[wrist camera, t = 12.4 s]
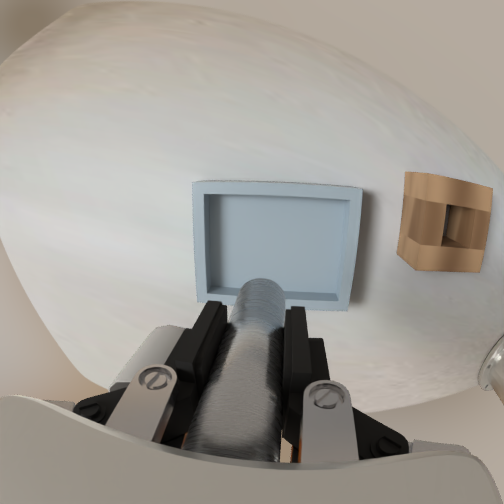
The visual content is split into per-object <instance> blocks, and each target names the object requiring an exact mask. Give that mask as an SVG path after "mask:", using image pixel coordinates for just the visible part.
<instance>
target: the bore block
mask: <svg viewBox="0 0 504 504" xmlns="http://www.w3.org/2000/svg"><path fill="white" fill-rule="evenodd" d="M492 194H493V188H490V187H486V186H482V185H479V184H475V183H471V182H466V181H462V180H458V179H453V178H449V177H444V176H439V175H434V174H429V173H418V172H405V185H404V198H403V209H402V218H401V227H400V234H399V242H398V248H397V255H399V256H400V257H401V258H402V259H403V260H404V261H405V262H407V263H408V264H409V265H410V266H411V267H412V268H413V269H415V270H419V271H447V272H479V273H480V269H481V265H482V260H483V255H484V251H485V246H486V240H487V234H488V228H489V221H490V213H491V205H492ZM447 204H450V208H449V217H448V224H447V231H446V236H443V229H444V222H445V214H446V205H447Z"/></svg>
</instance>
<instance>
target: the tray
mask: <svg viewBox="0 0 504 504" xmlns="http://www.w3.org/2000/svg"><path fill="white" fill-rule="evenodd" d="M362 192H363V189H361V188H357V187H350V186H338V185H326V184H311V183H293V182H269V181H197V182H192V201H193V236H194V259H195V276H196V292H197V302H202V303H207V301H208V300H211V301H222V304H223V305H234V304H235V302H236V299H237V296H238V293H239V291H240V289H241V287H242V286H243V285H244V284H245V283H246V282H248V281H250V280H252V279H255V278H266V279H270V280H272V281H274V282H276V283H277V284H278V285H279V286H280V287H281V288H282V290H283V291H284V294H285V309H291V306H305V310H320V311H348V305H349V300H350V294H351V288H352V282H353V275H354V269H355V261H356V254H357V246H358V237H359V228H360V218H361V206H362Z"/></svg>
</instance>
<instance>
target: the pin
mask: <svg viewBox="0 0 504 504" xmlns="http://www.w3.org/2000/svg"><path fill="white" fill-rule="evenodd" d="M284 323H285V294H284V291H283V290H282V288H281V287H280V286H279V285H278V284H277V283H276V282H274V281H272V280H270V279H266V278H255V279H252V280H250V281H248V282H246V283H245V284H244V285H243V286H242V287H241V289H240V291H239V293H238V296H237V299H236V302H235V304H234V307H233V310H232V313H231V315H230V318H229V321H228V324H227V326H226V329H225V332H224V335H223V337H222V340H221V343H220V346H219V348H218V351H217V354H216V357H215V359H214V362H213V365H212V368H211V370H210V373H209V376H208V378H207V381H206V384H205V387H204V389H203V392H202V395H201V397H200V400H199V403H198V406H197V408H196V411H195V414H194V417H193V419H192V422H191V425H190V427H189V430H188V433H187V436H186V438H185V441H184V444H183V447H182V450H187V451H191V452H196V453H202V454H207V455H213V456H219V457H226V458H233V459H241V460H251V461H263V462H280V449H281V432H282V413H283V399H282V377H283V348H284Z"/></svg>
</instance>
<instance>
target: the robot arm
mask: <svg viewBox="0 0 504 504" xmlns="http://www.w3.org/2000/svg"><path fill="white" fill-rule="evenodd" d="M227 324H228V323H227V306H226V305H223V304H222V301H211V300H208V301H207V303H206V305H205V307H204V308H203V310H202V312H201V314H200V315H199V317H198V319H197V321H196V323H195V324H194V326H193V328H192V329H189V328H186V329H185V330H184V331H183V333H182V334H181V336H180V338H179V339H178V341H177V343H176V345H175V346H174V348H173V350H172V351H171V353H170V355H169V356H168V358H167V360H166V362H165V363H164V365H163V364H152V365H148V366H145V367H143V368H141V369H140V370H138V372H137V373H136V374H135V376H134V377H133V379H132V381H131V382H130V384H129V386H128V387H125V388H121V389H118V390H115V391H111V392H108V393H105V394H101V395H98V396H94V397H90V398H87V399H84V400H81V401H80V402H79V403H77V404H76V405H75V403H74V402H67V401H51V400H40V399H36V398H33V397H29V396H21V395H6V396H3V397H1V398H0V504H503V502H502V499H501V496H500V494H499V491H498V488H497V486H496V484H495V481H494V479H493V478H492V475H491V474H490V472H489V470H488V468H487V467H486V466H485V464H484V463H483V462H482V461H481V460H480V459H479V458H478V457H476V456H474V455H471V453H470V452H469V450H468V449H467V448H465V447H464V446H460V445H452V444H441V443H434V442H427V441H420V440H414V441H413V442H408V441H407V440H406V439H405V437H404V436H403V435H401V434H400V433H398V432H396V431H394V430H392V429H390V428H389V427H387V426H385V425H383V424H382V423H380V422H378V421H376V420H374V419H372V418H371V417H369V416H367V415H366V414H364V413H362V412H361V411H359V410H357V409H355V408H354V407H352V404H351V397H350V394H349V391H348V390H347V389H346V387H345V386H343V385H342V384H340V383H338V382H335V381H331V380H330V376H329V370H328V364H327V358H326V353H325V347H324V341H323V339H322V338H308V330H307V321H306V313H305V306H291V309H286V311H285V323H284V348H283V377H282V399H283V413H282V438H284V439H285V440H287V441H288V442H289V443H290V444H292V447H291V457H290V463H280V462H263V461H251V460H241V459H233V458H226V457H219V456H213V455H207V454H202V453H196V452H191V451H187V450H182V447H183V444H184V441H185V438H186V436H187V433H188V430H189V427H190V425H191V422H192V419H193V417H194V414H195V411H196V408H197V406H198V403H199V400H200V397H201V395H202V392H203V389H204V387H205V384H206V381H207V378H208V376H209V373H210V370H211V368H212V365H213V362H214V359H215V357H216V354H217V351H218V348H219V346H220V343H221V340H222V337H223V335H224V332H225V329H226V326H227ZM478 382H479V385H480V387H481V388H482V389H483V390H485V391H489V390H493V389H494V391H495V392H496V394H497V395H498V397H499V398H500V400H501V401H502V403H503V404H504V336H503V337H502V338H501V339H500V340H499V341H498V343H497V344H496V345H495V346H494V347H493V349H492V350H491V352H490V353H489V355H488V356H487V358H486V360H485V361H484V363H483V365H482V368H481V370H480V373H479V378H478Z"/></svg>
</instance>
